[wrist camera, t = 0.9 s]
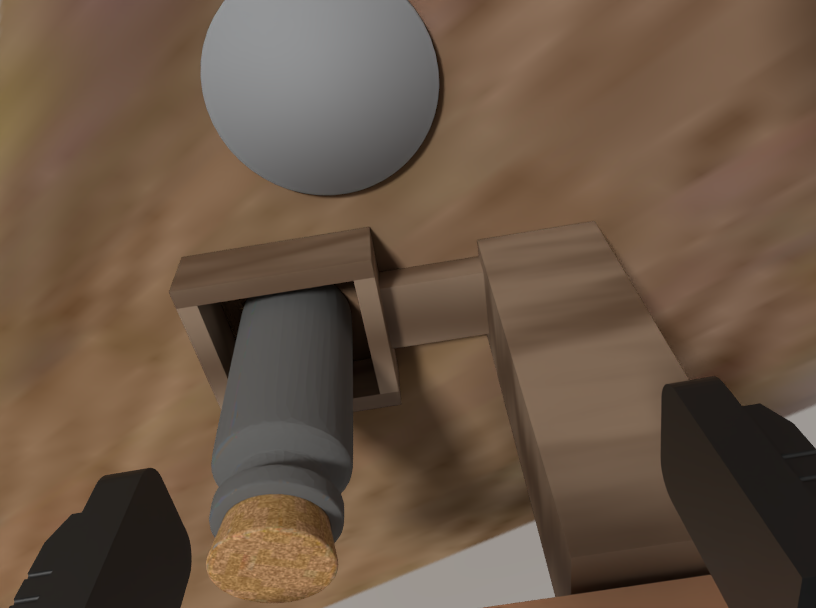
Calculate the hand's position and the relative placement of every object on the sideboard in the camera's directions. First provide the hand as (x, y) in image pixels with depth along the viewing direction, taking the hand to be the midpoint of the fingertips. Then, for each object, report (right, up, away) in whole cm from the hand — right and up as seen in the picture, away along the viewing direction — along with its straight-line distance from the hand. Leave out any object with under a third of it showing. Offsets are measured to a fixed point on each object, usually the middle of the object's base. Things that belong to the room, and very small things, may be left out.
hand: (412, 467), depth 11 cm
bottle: (-6, +2, +26) cm, 26 cm away
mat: (-4, +12, +18) cm, 22 cm away
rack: (0, +3, +25) cm, 25 cm away
